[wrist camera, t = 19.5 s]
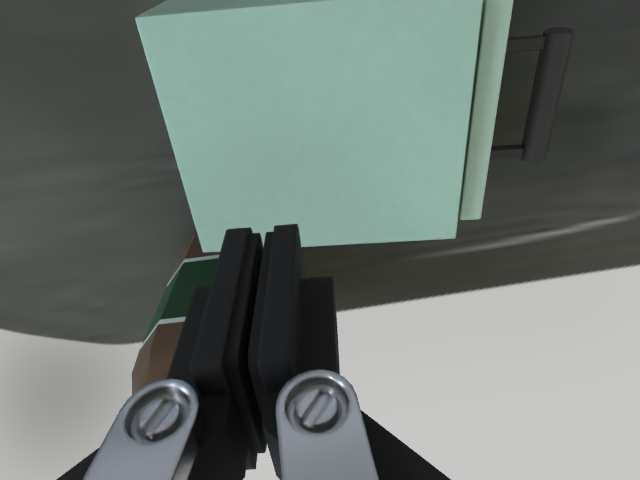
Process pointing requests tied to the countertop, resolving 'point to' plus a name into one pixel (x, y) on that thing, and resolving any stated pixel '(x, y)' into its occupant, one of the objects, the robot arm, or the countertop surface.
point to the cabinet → (317, 113)
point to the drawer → (487, 95)
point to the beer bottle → (172, 314)
